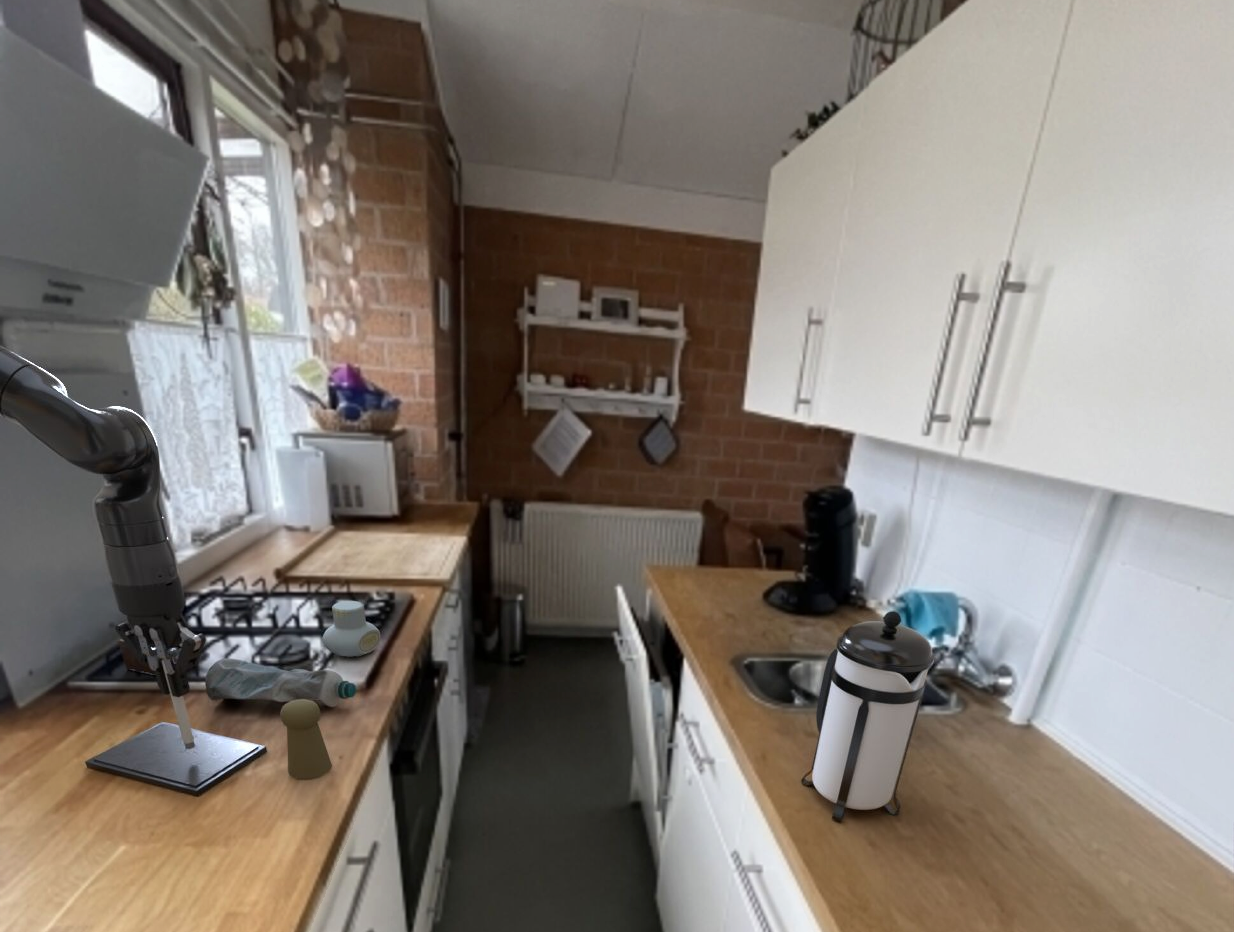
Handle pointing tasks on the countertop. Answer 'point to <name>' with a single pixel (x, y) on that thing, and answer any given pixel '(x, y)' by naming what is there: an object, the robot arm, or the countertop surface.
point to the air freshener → (350, 631)
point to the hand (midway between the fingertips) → (175, 693)
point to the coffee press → (868, 713)
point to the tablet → (177, 759)
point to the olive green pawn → (304, 740)
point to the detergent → (274, 683)
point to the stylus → (181, 717)
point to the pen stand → (134, 659)
